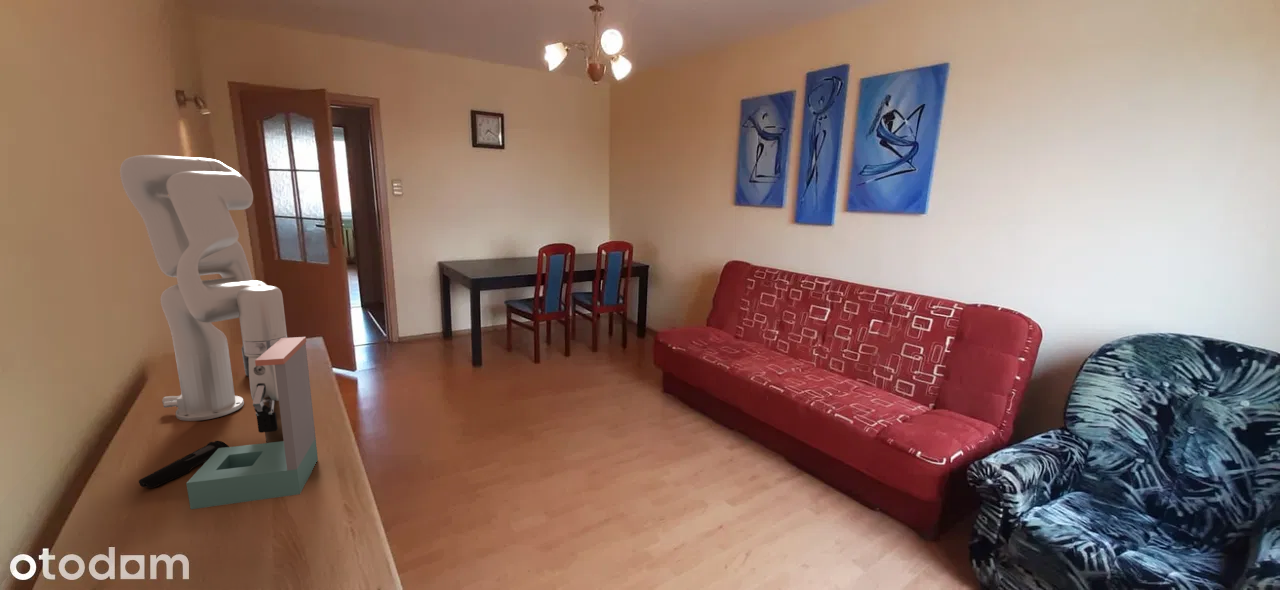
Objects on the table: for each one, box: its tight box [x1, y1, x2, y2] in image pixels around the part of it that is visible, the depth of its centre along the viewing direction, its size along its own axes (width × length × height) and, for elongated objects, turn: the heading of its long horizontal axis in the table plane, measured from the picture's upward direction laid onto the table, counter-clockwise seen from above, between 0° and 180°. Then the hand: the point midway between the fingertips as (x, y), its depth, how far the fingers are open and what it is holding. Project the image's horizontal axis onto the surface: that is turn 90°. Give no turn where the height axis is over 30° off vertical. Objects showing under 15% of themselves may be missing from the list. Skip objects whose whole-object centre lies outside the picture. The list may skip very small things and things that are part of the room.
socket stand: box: [185, 336, 319, 510], centre depth 91 cm, size 16×13×26 cm
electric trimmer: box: [138, 440, 230, 489], centre depth 96 cm, size 4×16×3 cm, turn 172°
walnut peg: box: [264, 397, 284, 443], centre depth 108 cm, size 4×4×10 cm
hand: (275, 421), depth 108 cm, fingers open, 7 cm apart
